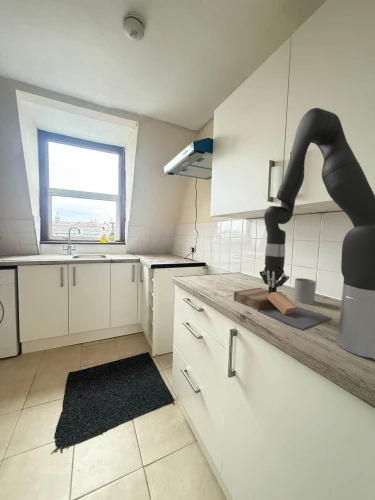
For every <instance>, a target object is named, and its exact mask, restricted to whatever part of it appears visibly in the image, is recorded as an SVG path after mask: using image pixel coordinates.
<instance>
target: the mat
mask: <svg viewBox="0 0 375 500" xmlns="http://www.w3.org/2000/svg"><path fill="white" fill-rule="evenodd" d="M296 306H297V307H298V308H297V309H296V311H295V312H294V313H290V314H285V315H283V314H282V313H281V312H280V311H279V309H278V308H277V307H276V306H274V307H270V308H266V309H262V310H257V312H258V313H260V314H262V315H265V316H268V317H270V318H272V319H275V320H276V321H280V322H282V323H284V324H286V325H288V326H291V327H293V328H295V329H298V330H300V331H304V330H306V329H309V328H311V327H315V326H317V325H319V324H321V323H324V322H327V321H329V320H332V319H333V318H332V317H330V316H328V315H325V314H322V313H318V312H315V311H313V310H310V309H307V308H303V307H301V306H299V305H296Z"/></svg>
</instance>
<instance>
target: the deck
mask: <svg viewBox="0 0 375 500" xmlns="http://www.w3.org/2000/svg"><path fill="white" fill-rule="evenodd" d="M268 290H269V289H266V288H263V287H256V288H248V289H242V290H235V291H234V292H233V301H235V302H238V303H239V304H242V305H244V306H246V307H249V308H252V309H253V310H256V311H258V310H262V309H266V308H270V307H274V306H275V305H274V304H273V303H272V302H271V301H270V300H269V299H268V296H269V293H268ZM284 295H285V296H286V297H287V295H286V294H284Z"/></svg>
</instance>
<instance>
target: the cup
mask: <svg viewBox="0 0 375 500" xmlns="http://www.w3.org/2000/svg"><path fill="white" fill-rule="evenodd" d="M316 284H317V281H316V280H314V279H313V280H312V279H308V278H296V277H295V279H294V287H293V289H294V290H293V301H294V302H297V303H299V304H300V303H301V304H303V305H304V304H305V305H313V304H314V303H315V296H316V286H317V285H316Z"/></svg>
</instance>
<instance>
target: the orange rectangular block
mask: <svg viewBox="0 0 375 500" xmlns="http://www.w3.org/2000/svg"><path fill="white" fill-rule="evenodd" d="M285 295H286V294H285V293H284V292H282V291H276V292H272V293H270V294H269V296H268V299H269V300H270V301H271V302H272V303H273V304H274V305H275V306H276V307H277V308H278V309H279V311H280V312H281V313H282V314H283V315H285V314H290V313H294V312H295V311H296V309H297V308H298V307H299V306H298V305H296V304H295V303H294V302H293V301H292V300H291V299H290V298H289V297H287V295H286V296H285ZM297 306H298V307H297Z"/></svg>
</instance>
